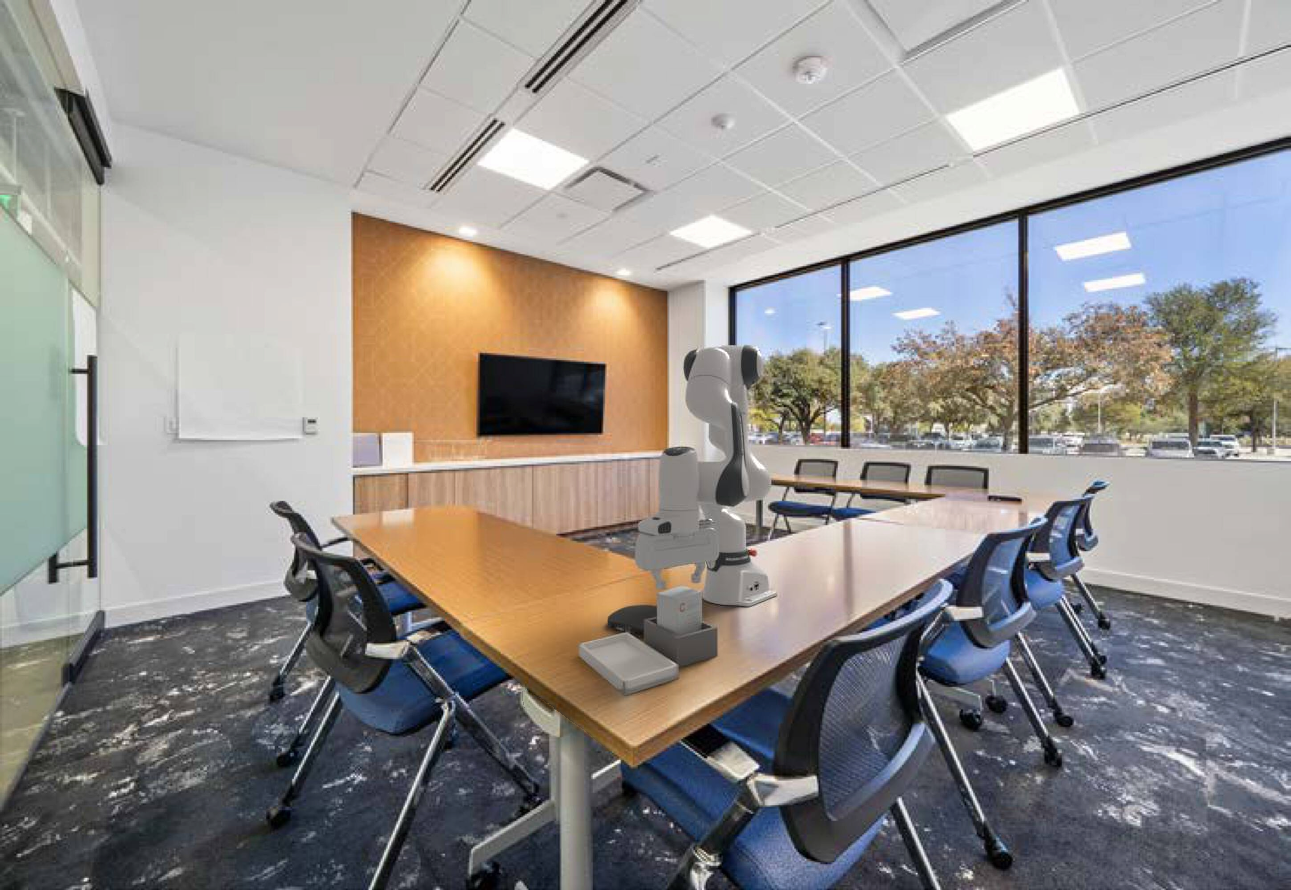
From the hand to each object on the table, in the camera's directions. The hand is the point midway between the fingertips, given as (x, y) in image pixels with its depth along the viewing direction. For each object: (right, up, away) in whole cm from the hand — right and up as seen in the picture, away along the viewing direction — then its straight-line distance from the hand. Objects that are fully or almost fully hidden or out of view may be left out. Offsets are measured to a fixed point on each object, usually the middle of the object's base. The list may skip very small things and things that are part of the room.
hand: (678, 585), depth 110 cm
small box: (0, -15, +1) cm, 15 cm away
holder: (0, -14, +1) cm, 14 cm away
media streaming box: (-8, -15, +17) cm, 24 cm away
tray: (-11, -15, -7) cm, 19 cm away
